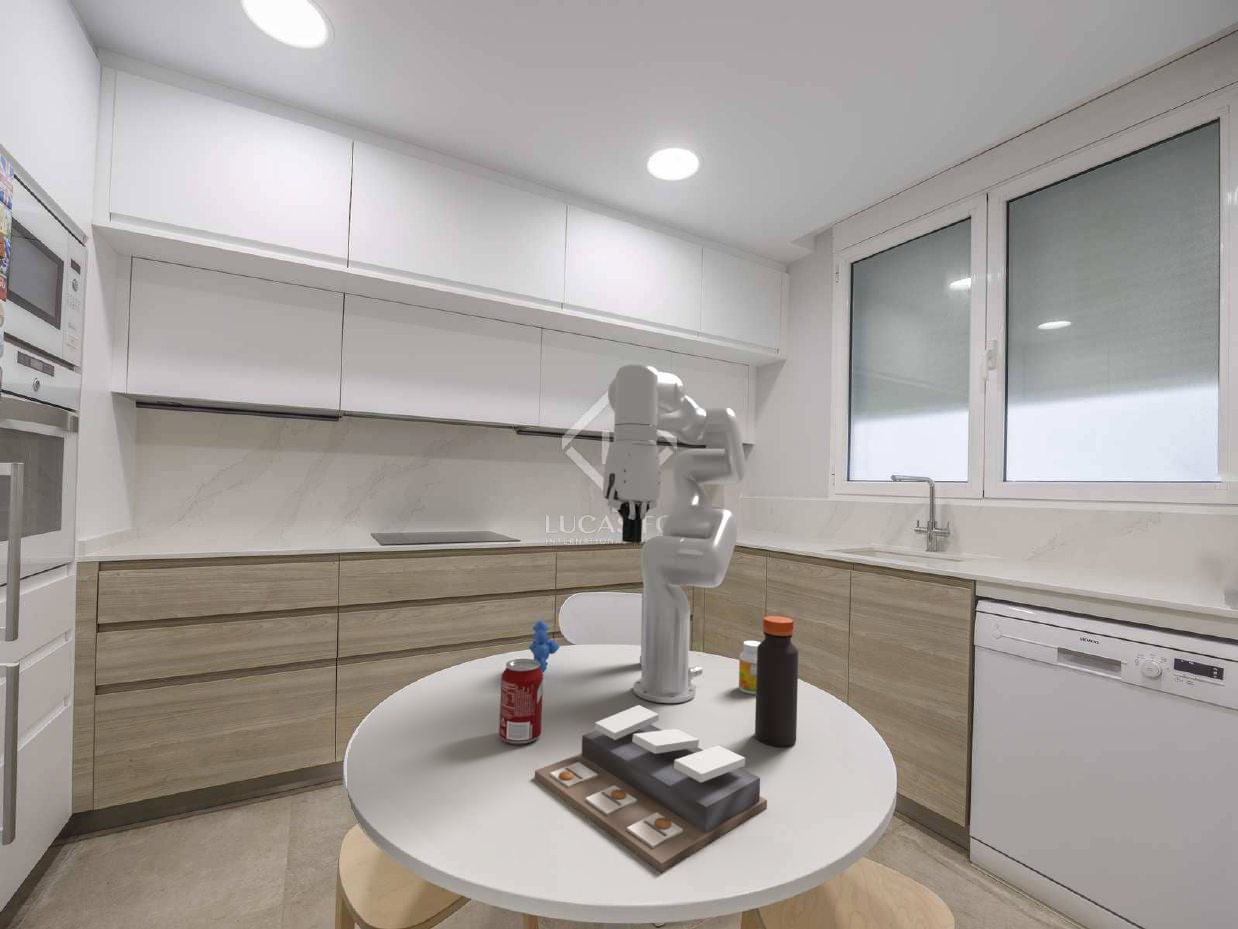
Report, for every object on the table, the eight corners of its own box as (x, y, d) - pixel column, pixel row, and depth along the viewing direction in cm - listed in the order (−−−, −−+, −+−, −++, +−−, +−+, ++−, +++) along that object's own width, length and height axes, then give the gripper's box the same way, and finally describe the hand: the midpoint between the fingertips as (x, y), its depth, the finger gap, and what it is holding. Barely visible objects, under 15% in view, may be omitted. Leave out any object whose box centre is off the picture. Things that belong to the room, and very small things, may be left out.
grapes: (560, 683, 118) (563, 625, 118) (528, 684, 116) (530, 626, 117) (556, 665, 129) (558, 613, 130) (526, 666, 128) (528, 613, 128)
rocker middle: (675, 735, 84) (676, 728, 85) (698, 747, 81) (699, 739, 81) (632, 741, 79) (633, 734, 79) (655, 753, 75) (656, 746, 75)
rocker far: (638, 711, 90) (638, 705, 90) (658, 720, 87) (658, 714, 87) (595, 729, 84) (595, 722, 84) (614, 740, 81) (614, 733, 81)
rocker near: (717, 752, 78) (718, 745, 79) (744, 765, 75) (745, 758, 75) (674, 768, 73) (674, 760, 73) (700, 782, 69) (701, 774, 69)
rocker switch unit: (636, 739, 93) (637, 714, 93) (766, 807, 75) (767, 776, 75) (534, 777, 80) (535, 749, 80) (661, 872, 61) (662, 835, 61)
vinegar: (803, 739, 96) (806, 620, 96) (784, 752, 91) (787, 626, 91) (766, 726, 100) (769, 612, 101) (747, 738, 95) (750, 618, 96)
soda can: (532, 750, 88) (535, 672, 89) (492, 744, 90) (495, 668, 90) (546, 731, 95) (549, 659, 95) (508, 726, 96) (511, 655, 97)
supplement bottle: (735, 685, 120) (736, 639, 121) (760, 685, 121) (761, 639, 121) (743, 695, 115) (744, 646, 115) (768, 695, 116) (770, 647, 116)
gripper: (650, 440, 106) (647, 538, 106) (588, 434, 97) (584, 541, 96) (680, 439, 101) (676, 542, 100) (617, 432, 91) (613, 546, 90)
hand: (631, 541), depth 98 cm, fingers closed
